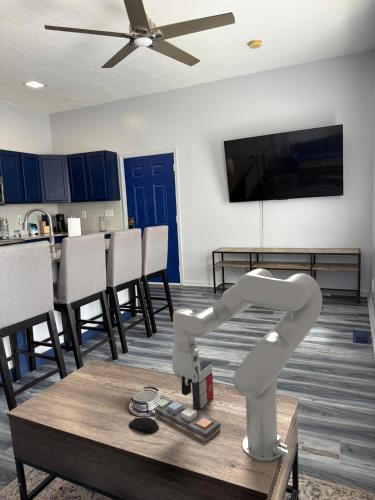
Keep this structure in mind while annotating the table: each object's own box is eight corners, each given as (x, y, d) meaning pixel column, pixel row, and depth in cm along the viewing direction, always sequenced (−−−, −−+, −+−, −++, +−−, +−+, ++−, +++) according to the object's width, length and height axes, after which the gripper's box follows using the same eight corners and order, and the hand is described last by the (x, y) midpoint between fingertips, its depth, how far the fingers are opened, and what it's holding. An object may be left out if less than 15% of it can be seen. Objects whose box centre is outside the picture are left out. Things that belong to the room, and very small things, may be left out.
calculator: (201, 410, 137) (199, 373, 135) (191, 407, 139) (189, 370, 137) (214, 397, 146) (213, 362, 144) (205, 394, 148) (203, 360, 146)
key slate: (182, 409, 133) (182, 404, 133) (175, 414, 130) (175, 409, 130) (175, 406, 136) (174, 401, 136) (167, 411, 133) (167, 406, 133)
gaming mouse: (128, 418, 134) (128, 408, 134) (162, 427, 128) (161, 417, 127) (118, 427, 129) (117, 417, 128) (152, 438, 122) (152, 427, 122)
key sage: (169, 406, 138) (169, 401, 138) (162, 411, 135) (162, 406, 135) (162, 403, 141) (162, 398, 141) (155, 407, 138) (154, 403, 138)
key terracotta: (212, 427, 124) (212, 421, 124) (205, 432, 121) (204, 427, 121) (203, 422, 127) (203, 417, 127) (196, 428, 124) (195, 422, 124)
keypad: (220, 429, 124) (220, 422, 124) (206, 441, 118) (205, 433, 118) (162, 402, 144) (162, 396, 143) (148, 411, 138) (147, 405, 138)
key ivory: (196, 416, 129) (196, 411, 128) (189, 421, 126) (189, 416, 125) (188, 412, 131) (188, 407, 131) (181, 417, 128) (181, 412, 128)
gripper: (207, 346, 123) (209, 396, 126) (176, 336, 133) (178, 383, 136) (193, 353, 118) (195, 405, 120) (162, 342, 128) (164, 391, 130)
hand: (186, 393), depth 128 cm, fingers closed
